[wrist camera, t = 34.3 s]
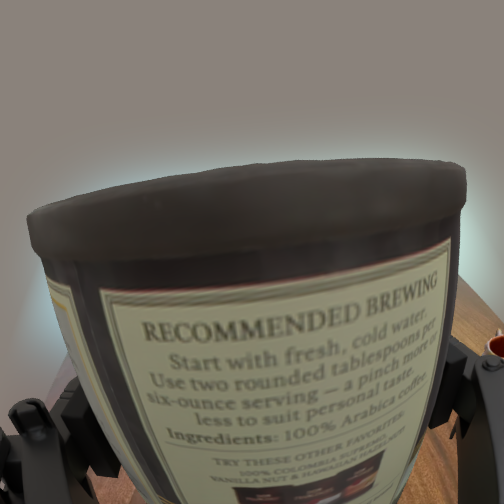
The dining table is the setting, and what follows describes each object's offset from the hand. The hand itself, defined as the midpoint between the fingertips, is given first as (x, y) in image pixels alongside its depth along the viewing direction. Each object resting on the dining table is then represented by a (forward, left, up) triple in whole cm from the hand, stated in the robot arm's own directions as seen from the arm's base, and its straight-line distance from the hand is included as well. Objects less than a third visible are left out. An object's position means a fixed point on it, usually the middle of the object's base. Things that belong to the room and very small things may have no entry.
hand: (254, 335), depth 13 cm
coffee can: (+1, -4, -8) cm, 9 cm away
